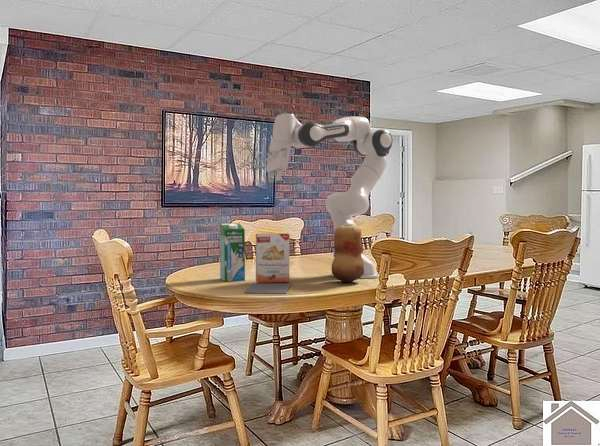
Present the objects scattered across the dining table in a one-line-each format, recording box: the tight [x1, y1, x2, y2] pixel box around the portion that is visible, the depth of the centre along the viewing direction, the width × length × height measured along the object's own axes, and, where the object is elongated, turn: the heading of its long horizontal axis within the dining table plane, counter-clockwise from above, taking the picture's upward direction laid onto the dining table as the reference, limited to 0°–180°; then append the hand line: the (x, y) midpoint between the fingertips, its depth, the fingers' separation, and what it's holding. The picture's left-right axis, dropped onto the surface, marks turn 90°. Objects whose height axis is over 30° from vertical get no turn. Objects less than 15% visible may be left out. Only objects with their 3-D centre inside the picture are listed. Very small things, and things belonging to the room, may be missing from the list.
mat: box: [243, 282, 291, 295], centre depth 198 cm, size 16×21×1 cm
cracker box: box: [255, 232, 290, 283], centre depth 212 cm, size 14×6×21 cm, turn 101°
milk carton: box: [219, 222, 246, 282], centre depth 220 cm, size 9×9×25 cm
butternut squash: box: [331, 223, 364, 283], centre depth 212 cm, size 14×13×25 cm
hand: (274, 181), depth 212 cm, fingers open, 8 cm apart
